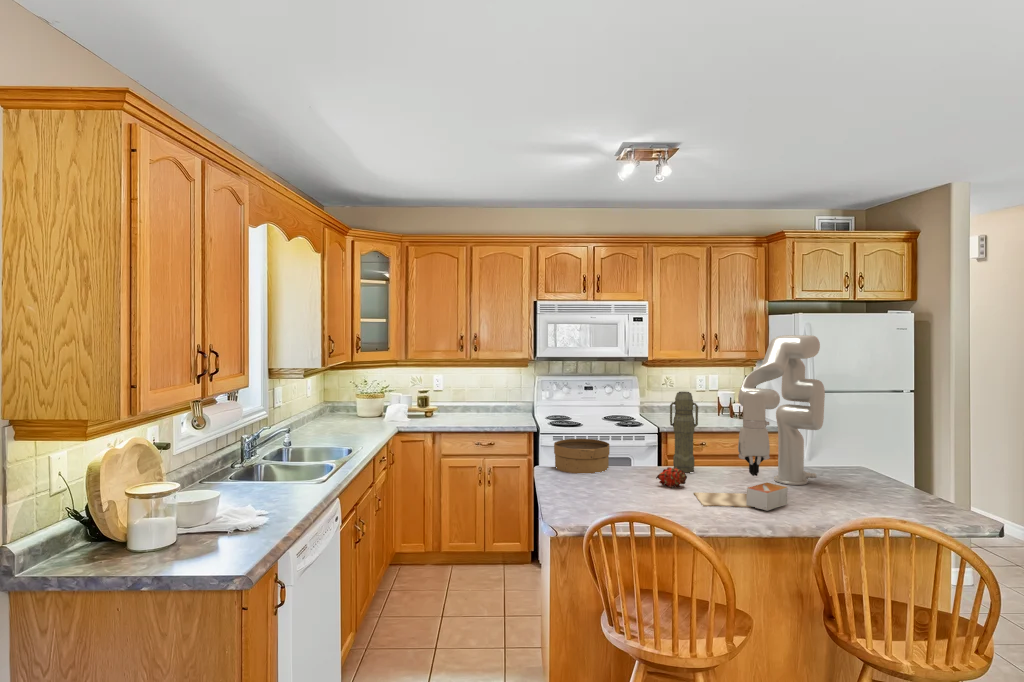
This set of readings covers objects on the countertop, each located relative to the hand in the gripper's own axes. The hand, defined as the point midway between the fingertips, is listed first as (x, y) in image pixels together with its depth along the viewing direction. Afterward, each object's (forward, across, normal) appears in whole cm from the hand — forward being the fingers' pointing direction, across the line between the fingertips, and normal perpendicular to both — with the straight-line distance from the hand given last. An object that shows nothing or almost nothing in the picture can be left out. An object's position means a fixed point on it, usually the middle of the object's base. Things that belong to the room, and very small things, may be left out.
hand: (753, 474), depth 218 cm
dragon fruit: (+10, +26, -18) cm, 33 cm away
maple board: (+10, +8, 0) cm, 12 cm away
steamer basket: (+10, +61, -49) cm, 79 cm away
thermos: (+10, +16, -45) cm, 49 cm away
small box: (+6, -8, +2) cm, 10 cm away
